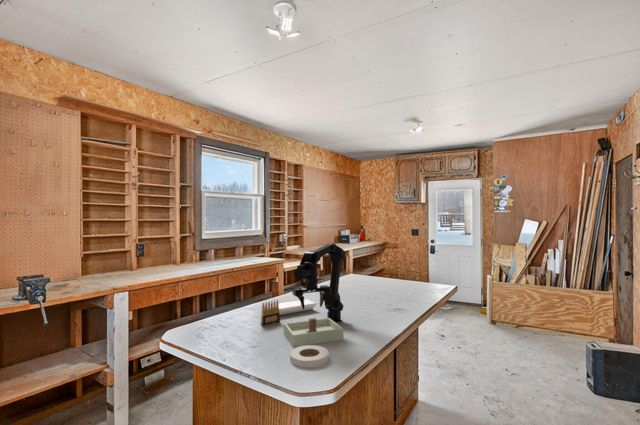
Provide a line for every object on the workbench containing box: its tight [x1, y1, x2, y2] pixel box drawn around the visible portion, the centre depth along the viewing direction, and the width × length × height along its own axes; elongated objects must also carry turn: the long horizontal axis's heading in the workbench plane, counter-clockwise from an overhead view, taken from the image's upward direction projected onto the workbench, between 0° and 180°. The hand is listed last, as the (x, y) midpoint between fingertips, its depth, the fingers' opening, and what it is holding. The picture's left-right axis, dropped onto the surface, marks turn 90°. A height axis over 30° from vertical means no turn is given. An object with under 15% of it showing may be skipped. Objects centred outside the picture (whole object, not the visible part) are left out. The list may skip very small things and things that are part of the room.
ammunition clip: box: [260, 299, 281, 327], centre depth 172 cm, size 11×2×12 cm, turn 131°
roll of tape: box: [289, 344, 330, 369], centre depth 127 cm, size 16×15×3 cm
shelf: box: [267, 298, 317, 316], centre depth 192 cm, size 12×30×5 cm, turn 121°
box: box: [283, 318, 344, 348], centre depth 152 cm, size 24×18×5 cm
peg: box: [308, 317, 317, 332], centre depth 152 cm, size 4×4×8 cm
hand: (312, 307), depth 160 cm, fingers open, 9 cm apart
